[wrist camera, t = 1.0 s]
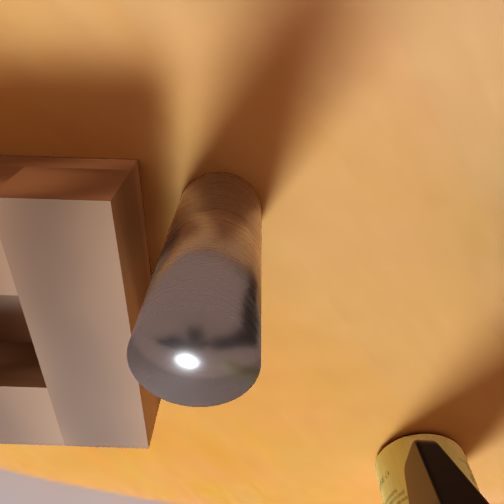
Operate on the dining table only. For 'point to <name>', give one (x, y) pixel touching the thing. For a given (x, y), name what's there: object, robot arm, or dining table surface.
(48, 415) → the bore block
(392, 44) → the dining table surface
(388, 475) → the tube
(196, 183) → the pin
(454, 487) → the robot arm
